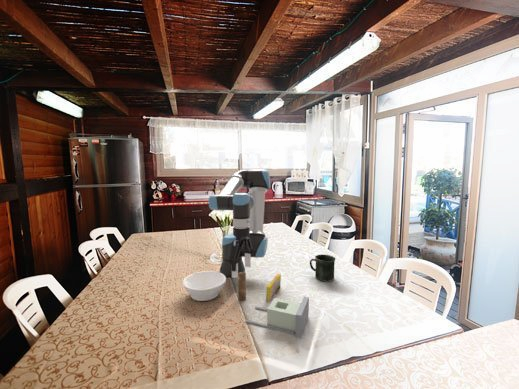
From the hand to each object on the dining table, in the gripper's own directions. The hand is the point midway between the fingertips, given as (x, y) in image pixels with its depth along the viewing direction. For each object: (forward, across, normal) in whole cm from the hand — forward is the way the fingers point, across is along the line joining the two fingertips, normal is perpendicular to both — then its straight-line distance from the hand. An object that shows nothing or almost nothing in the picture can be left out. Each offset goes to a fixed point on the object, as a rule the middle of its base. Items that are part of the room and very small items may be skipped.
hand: (241, 271), depth 120 cm
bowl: (+15, 0, +20) cm, 25 cm away
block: (+14, -10, -24) cm, 29 cm away
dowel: (+15, 0, 0) cm, 15 cm away
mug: (+15, +42, -31) cm, 54 cm away
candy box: (+15, +12, -12) cm, 22 cm away
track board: (+15, -10, -20) cm, 27 cm away
